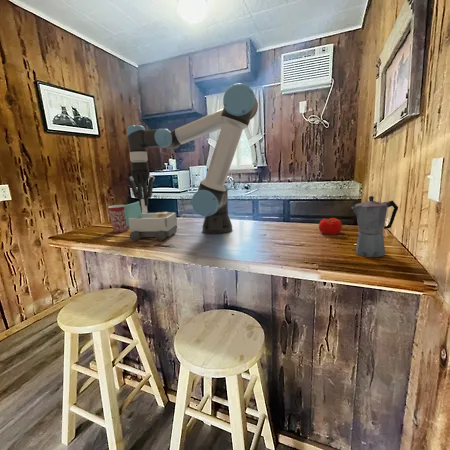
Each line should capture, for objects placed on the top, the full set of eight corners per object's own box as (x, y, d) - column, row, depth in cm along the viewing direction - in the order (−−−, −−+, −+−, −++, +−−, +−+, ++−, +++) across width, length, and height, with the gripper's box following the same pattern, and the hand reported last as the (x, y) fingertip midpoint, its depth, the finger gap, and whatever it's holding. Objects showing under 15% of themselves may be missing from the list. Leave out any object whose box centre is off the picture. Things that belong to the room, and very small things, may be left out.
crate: (168, 221, 126) (168, 211, 125) (167, 224, 121) (166, 213, 120) (158, 222, 126) (157, 212, 124) (156, 224, 121) (155, 214, 120)
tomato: (318, 235, 113) (318, 221, 112) (319, 229, 123) (319, 216, 122) (342, 237, 110) (343, 222, 108) (341, 230, 120) (342, 217, 118)
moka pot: (341, 250, 93) (345, 195, 88) (382, 247, 94) (387, 193, 90) (357, 259, 84) (362, 198, 79) (401, 256, 85) (409, 196, 80)
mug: (119, 233, 131) (115, 207, 128) (107, 232, 136) (104, 207, 132) (138, 228, 142) (135, 204, 139) (127, 226, 146) (124, 203, 143)
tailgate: (143, 221, 132) (141, 201, 130) (127, 229, 116) (124, 206, 114) (141, 221, 132) (138, 201, 130) (125, 229, 116) (122, 206, 114)
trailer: (178, 230, 132) (177, 211, 130) (166, 241, 114) (164, 219, 112) (145, 231, 134) (143, 212, 132) (128, 241, 116) (125, 219, 114)
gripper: (156, 161, 120) (160, 211, 125) (129, 162, 121) (135, 211, 127) (149, 161, 112) (154, 213, 118) (121, 162, 114) (128, 214, 119)
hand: (144, 212), depth 122 cm, fingers closed
